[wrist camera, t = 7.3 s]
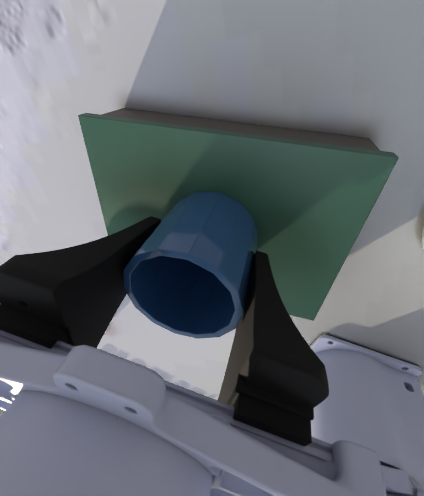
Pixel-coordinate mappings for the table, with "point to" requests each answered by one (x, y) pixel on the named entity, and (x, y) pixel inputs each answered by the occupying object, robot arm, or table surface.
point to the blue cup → (195, 266)
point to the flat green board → (244, 186)
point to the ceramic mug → (422, 239)
